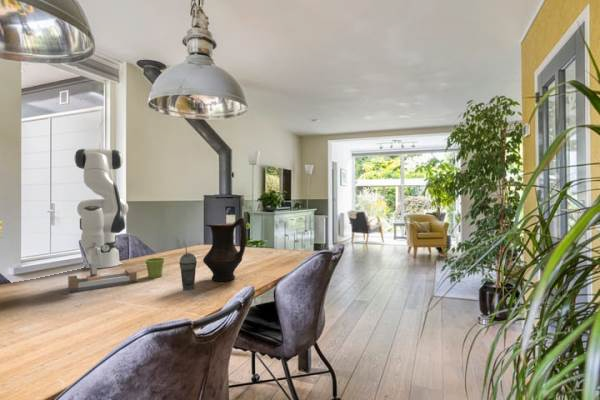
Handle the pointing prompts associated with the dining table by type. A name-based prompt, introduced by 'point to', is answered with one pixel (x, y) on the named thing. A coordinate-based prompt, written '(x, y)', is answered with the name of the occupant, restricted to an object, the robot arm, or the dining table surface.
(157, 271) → the plant pot
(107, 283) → the track
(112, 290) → the dining table surface
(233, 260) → the jug
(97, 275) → the keeper
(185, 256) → the beverage cup
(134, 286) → the dining table surface
